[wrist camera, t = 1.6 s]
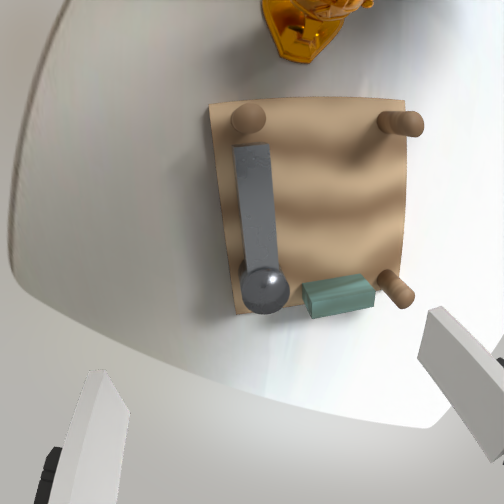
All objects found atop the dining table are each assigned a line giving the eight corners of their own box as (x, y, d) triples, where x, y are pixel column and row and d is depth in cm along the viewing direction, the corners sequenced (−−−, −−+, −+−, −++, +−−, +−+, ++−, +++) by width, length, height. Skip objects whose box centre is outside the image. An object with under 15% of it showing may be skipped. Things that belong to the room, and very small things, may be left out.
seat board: (208, 105, 27) (207, 99, 21) (397, 100, 28) (433, 99, 22) (235, 307, 36) (239, 343, 30) (391, 280, 37) (418, 307, 31)
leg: (281, 287, 33) (290, 310, 29) (240, 293, 33) (244, 317, 29) (270, 140, 27) (280, 143, 23) (222, 145, 27) (223, 149, 23)
